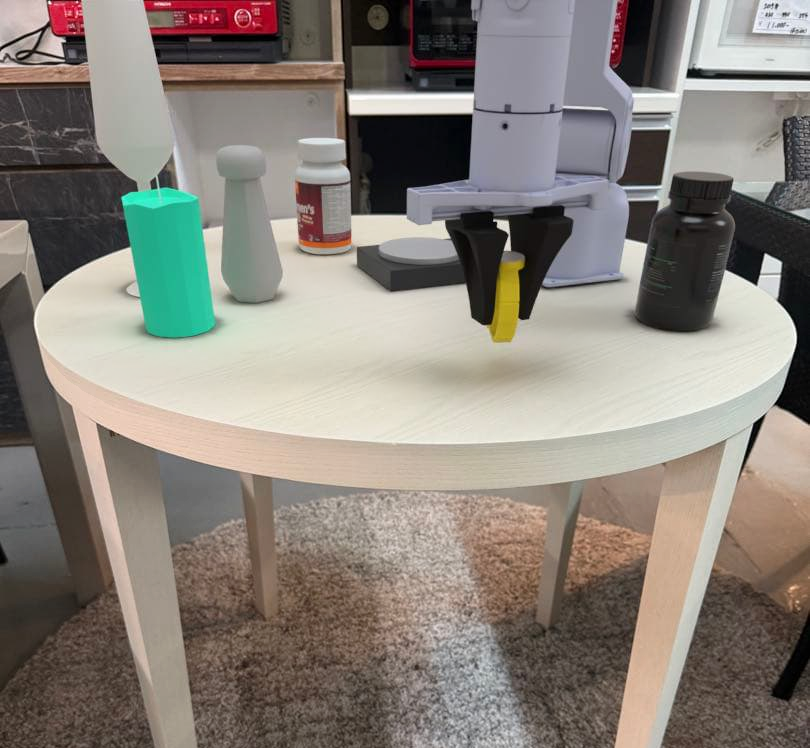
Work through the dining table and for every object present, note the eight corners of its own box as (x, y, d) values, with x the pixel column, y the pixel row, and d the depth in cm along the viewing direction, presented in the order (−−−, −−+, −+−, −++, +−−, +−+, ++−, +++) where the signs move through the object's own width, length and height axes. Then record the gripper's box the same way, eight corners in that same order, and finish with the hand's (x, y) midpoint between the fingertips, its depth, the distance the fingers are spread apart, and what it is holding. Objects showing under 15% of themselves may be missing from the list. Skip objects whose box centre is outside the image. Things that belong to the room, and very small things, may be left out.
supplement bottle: (687, 306, 72) (718, 168, 66) (726, 329, 67) (764, 182, 60) (621, 309, 71) (645, 169, 64) (655, 334, 66) (686, 184, 59)
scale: (455, 255, 87) (456, 232, 85) (496, 279, 79) (498, 253, 78) (356, 265, 83) (356, 240, 81) (390, 291, 75) (390, 264, 74)
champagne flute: (182, 274, 79) (139, -9, 65) (205, 291, 74) (164, -10, 61) (117, 284, 76) (57, -11, 62) (138, 302, 71) (78, -13, 58)
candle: (152, 315, 68) (125, 169, 62) (219, 314, 69) (200, 169, 62) (138, 338, 63) (108, 182, 57) (211, 337, 64) (189, 182, 57)
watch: (475, 323, 60) (479, 244, 56) (510, 322, 60) (516, 244, 56) (486, 351, 55) (492, 266, 51) (524, 350, 55) (532, 265, 51)
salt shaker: (272, 308, 70) (258, 152, 63) (214, 303, 71) (194, 150, 64) (292, 289, 75) (281, 143, 68) (238, 285, 76) (221, 141, 69)
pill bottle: (289, 247, 89) (281, 139, 82) (333, 240, 92) (329, 135, 86) (317, 258, 85) (311, 145, 78) (362, 250, 88) (360, 141, 82)
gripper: (441, 120, 43) (433, 349, 51) (649, 112, 48) (612, 323, 56) (394, 107, 48) (394, 317, 56) (586, 101, 53) (561, 295, 61)
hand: (499, 318), depth 56 cm, fingers closed on watch, 2 cm apart
